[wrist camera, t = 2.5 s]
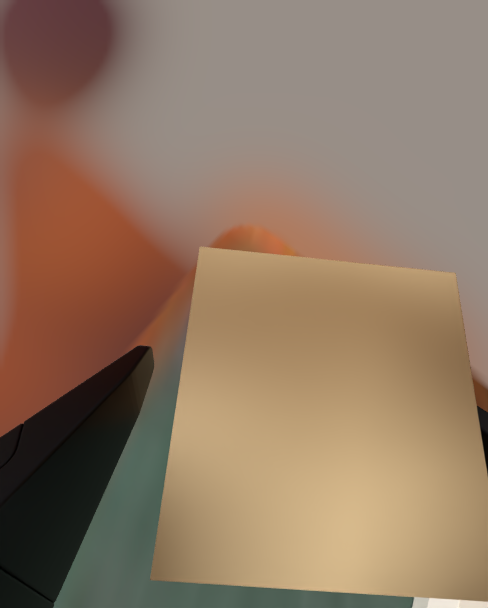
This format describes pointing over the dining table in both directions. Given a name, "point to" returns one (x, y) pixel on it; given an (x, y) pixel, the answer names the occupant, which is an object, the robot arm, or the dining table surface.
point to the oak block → (325, 433)
